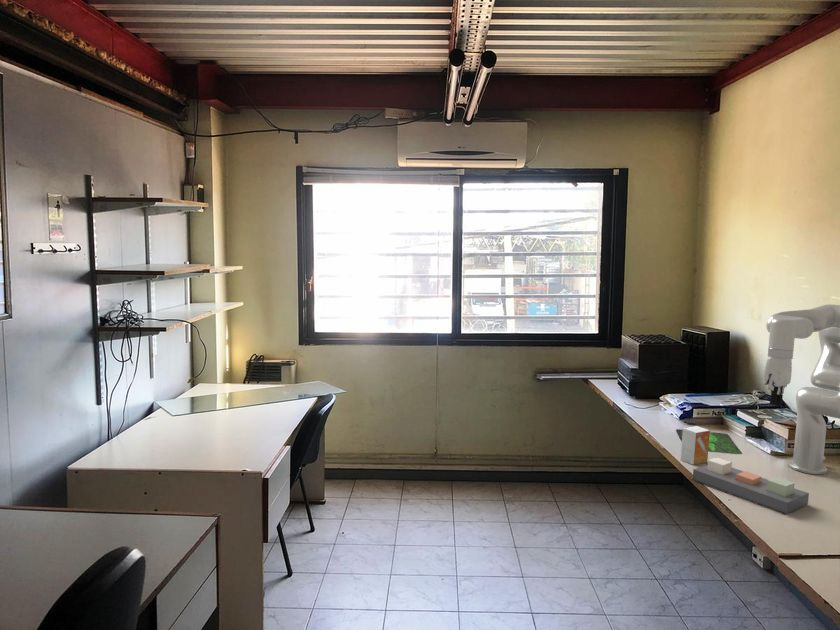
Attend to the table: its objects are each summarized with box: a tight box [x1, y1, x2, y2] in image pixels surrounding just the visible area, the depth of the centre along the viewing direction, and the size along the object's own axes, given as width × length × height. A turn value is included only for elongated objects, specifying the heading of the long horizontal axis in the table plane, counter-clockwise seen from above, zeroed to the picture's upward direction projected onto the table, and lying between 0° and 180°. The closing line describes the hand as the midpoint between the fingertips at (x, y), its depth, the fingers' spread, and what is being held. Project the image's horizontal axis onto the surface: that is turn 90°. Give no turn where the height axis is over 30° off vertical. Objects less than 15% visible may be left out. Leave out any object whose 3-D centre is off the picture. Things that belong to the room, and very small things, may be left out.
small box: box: [679, 425, 711, 466], centre depth 231 cm, size 8×6×13 cm
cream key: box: [707, 456, 733, 475], centre depth 212 cm, size 6×6×5 cm
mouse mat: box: [675, 428, 743, 455], centre depth 256 cm, size 27×22×1 cm
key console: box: [692, 464, 810, 515], centre depth 203 cm, size 14×32×4 cm, turn 33°
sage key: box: [767, 476, 795, 497], centre depth 194 cm, size 6×6×5 cm
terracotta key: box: [736, 470, 762, 486], centre depth 203 cm, size 6×6×5 cm
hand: (775, 404), depth 207 cm, fingers closed
